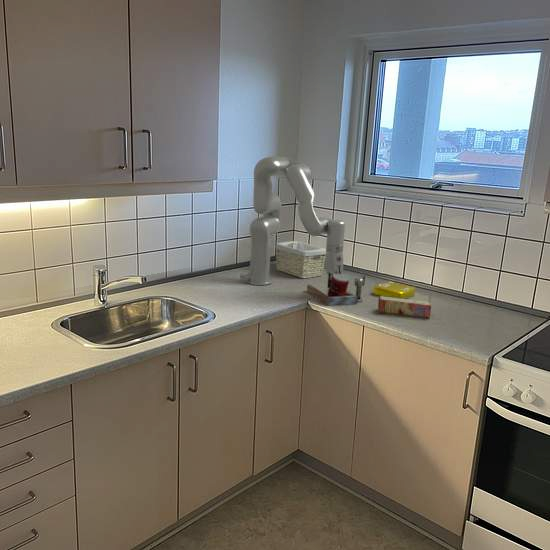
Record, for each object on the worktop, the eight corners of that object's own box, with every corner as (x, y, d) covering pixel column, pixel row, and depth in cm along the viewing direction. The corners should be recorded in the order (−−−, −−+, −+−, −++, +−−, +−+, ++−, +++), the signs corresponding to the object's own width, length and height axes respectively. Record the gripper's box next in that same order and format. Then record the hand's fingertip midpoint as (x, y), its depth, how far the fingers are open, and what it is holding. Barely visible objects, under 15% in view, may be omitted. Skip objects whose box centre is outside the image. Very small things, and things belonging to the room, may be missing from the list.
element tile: (401, 302, 248) (402, 292, 247) (371, 295, 257) (372, 285, 256) (415, 296, 260) (416, 286, 258) (387, 289, 269) (388, 279, 268)
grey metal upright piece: (355, 302, 243) (358, 277, 240) (351, 299, 247) (353, 275, 244) (364, 301, 245) (367, 277, 242) (360, 299, 249) (362, 274, 246)
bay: (328, 305, 236) (329, 298, 235) (306, 291, 256) (307, 283, 256) (357, 303, 241) (357, 296, 240) (333, 289, 262) (334, 282, 261)
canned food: (343, 295, 248) (349, 274, 244) (343, 304, 241) (350, 282, 236) (326, 292, 248) (332, 270, 244) (326, 300, 241) (332, 278, 236)
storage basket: (272, 269, 293) (274, 242, 289) (296, 266, 303) (298, 239, 299) (302, 280, 275) (304, 251, 271) (326, 276, 285) (328, 248, 281)
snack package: (428, 314, 233) (430, 299, 231) (430, 319, 227) (432, 304, 225) (377, 309, 236) (379, 294, 234) (377, 314, 230) (379, 298, 228)
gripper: (350, 251, 239) (346, 292, 243) (334, 244, 252) (331, 283, 257) (334, 252, 236) (331, 293, 241) (319, 244, 249) (316, 283, 254)
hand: (331, 287), depth 249 cm, fingers closed
